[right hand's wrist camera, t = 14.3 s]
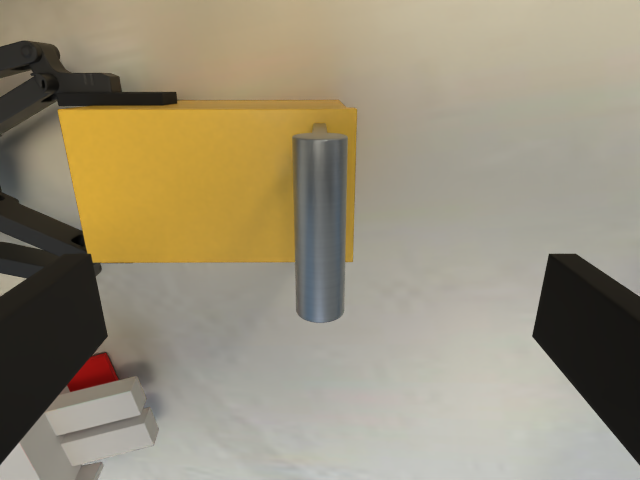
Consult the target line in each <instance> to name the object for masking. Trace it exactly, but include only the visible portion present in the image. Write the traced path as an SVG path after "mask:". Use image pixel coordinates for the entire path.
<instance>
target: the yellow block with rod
mask: <svg viewBox="0 0 640 480" xmlns="http://www.w3.org/2000/svg"><path fill="white" fill-rule="evenodd" d="M58 115H59V120H60V125H61V130H62V135H63V139H64V144H65V149H66V154H67V159H68V163H69V168H70V173H71V178H72V183H73V187H74V192H75V197H76V202H77V207H78V211H79V216H80V221H81V226H82V231H83V235H84V240H85V245H86V250H87V254H91V256H92V261H93V263H170V262H295V278H296V311H297V314H298V315H299V316H300V317H301V318H302V319H304V320H307V321H310V322H316V323H324V322H330V321H334V320H336V319H338V318H340V317H341V316H342V315H343V313H344V295H345V262H353V239H354V202H355V166H356V129H357V109H356V108H66V109H58Z"/></svg>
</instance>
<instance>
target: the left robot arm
mask: <svg viewBox="0 0 640 480" xmlns="http://www.w3.org/2000/svg"><path fill="white" fill-rule="evenodd" d="M29 70H32V71H33V73H31V76H34V77H33V78H31V79H29V80H28V81H26V82H24V83H23V84H21V85H20V86H18V87H16V88H15V89H13V90H11V91H10V92H8V93H7V94H5V95H3V96H2V97H0V137H1V136H2V135H1V134H3V133H4V132H6V131H8V130H9V129H11V128H13V127H14V126H16V125H18V124H19V123H21V122H23V121H24V120H26V119H28V118H29V117H31V116H33V115H34V114H36V113H38V112H39V111H41V110H43V109H44V108H46V107H48V106H49V105H51V104H53V103H54V102H56V101H58V105H59V106H164V105H170V104H177V96H176V92H122V90H121V84H120V77H119V76H116V75H114V74H111V73H71V72H69V71H67V70H66V69H65V68H64V67H63V65H62V64H61V62H60V52H59V50H58V49H57V48H56V47H55V46H54V45H52V44H47V43H39V42H32V41H20V42H16V43H12V44H9V45H5V46H1V47H0V78H3V77H7V76H11V75H14V74H18V73H22V72H26V71H29ZM0 232H2V233H5V234H7V235H9V236H12V237H14V238H16V239H19V240H21V241H24V242H26V243H28V244H31V245H33V246H36V247H38V248H40V249H36V248H31V247H26V246H21V245H16V244H12V243H6V242H0V273H3V274H8V275H13V276H18V277H23V278H29V277H30V276H32V275H33V274H35V273H36V272H38V271H39V270H41V269H42V268H44V267H45V266H47V265H48V264H50V263H51V262H53V261H54V260H56V259H57V258H59V257H60V256H62V255H63V254H87V250H86V245H85V240H84V235H83V231H81V230H78V229H76V228H74V227H72V226H69V225H67V224H65V223H62V222H60V221H58V220H55V219H53V218H51V217H49V216H46V215H44V214H42V213H39V212H37V211H35V210H32V209H30V208H28V207H25V206H23V205H21V204H19V201H18V200H17V199H16V198H13V197H11V196H9V195H6V194H4V193H2V190H1V187H0ZM41 249H43V250H41ZM93 266H94V271H95V276H97V275H98V274H99V273H100V272H101V270H102V268H101V265H100V263H93Z"/></svg>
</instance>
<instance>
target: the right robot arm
mask: <svg viewBox="0 0 640 480" xmlns="http://www.w3.org/2000/svg"><path fill="white" fill-rule="evenodd" d="M107 337H108V335H107V330H106V326H105V321H104V316H103V311H102V306H101V301H100V296H99V291H98V286H97V281H96V276H95V271H94V266H93V261H92V256H91V254H63V255H62V256H60V257H59V258H57V259H56V260H54V261H53V262H51V263H50V264H48V265H47V266H45V267H44V268H42V269H41V270H39V271H38V272H36V273H35V274H33V275H32V276H30V277H29V278H27V279H26V280H24V281H23V282H22V283H20V284H19V285H17V286H16V287H14V288H13V289H11V290H10V291H8V292H7V293H5V294H4V295H2V296H1V297H0V465H1V464H2V462H3V461H4V460H5V459H6V458H7V456H8V455H9V454H10V453H11V452H12V450H13V449H14V448H15V447H16V446H17V444H18V443H19V442H20V441H21V440H22V438H23V437H24V436H25V435H26V434H27V432H28V431H29V430H30V429H31V428H32V427H33V425H34V424H35V423H36V422H37V421H38V419H39V418H40V417H41V416H42V415H43V413H44V412H45V411H46V410H47V409H48V407H49V406H50V405H51V404H52V403H53V401H54V400H55V399H56V398H57V397H58V395H59V394H60V393H61V392H62V391H63V389H64V388H65V387H66V386H67V385H68V383H69V382H70V381H71V380H72V379H73V377H74V376H75V375H76V374H77V373H78V371H79V370H80V369H81V368H82V367H83V365H84V364H85V363H86V362H87V361H88V359H89V358H90V357H91V356H92V355H93V353H94V352H95V351H96V350H97V349H98V347H99V346H100V345H101V344H102V343H103V341H104V340H105V339H106V338H107ZM532 337H533V338H534V339H535V340H536V341H537V343H538V344H539V345H540V346H541V347H542V349H543V350H544V351H545V352H546V353H547V355H548V356H549V357H550V358H551V359H552V361H553V362H554V363H555V364H556V365H557V367H558V368H559V369H560V370H561V371H562V373H563V374H564V375H565V376H566V377H567V379H568V380H569V381H570V382H571V383H572V385H573V386H574V387H575V388H576V389H577V391H578V392H579V393H580V394H581V395H582V397H583V398H584V399H585V400H586V401H587V403H588V404H589V405H590V406H591V407H592V409H593V410H594V411H595V412H596V413H597V415H598V416H599V417H600V418H601V419H602V421H603V422H604V423H605V424H606V425H607V427H608V428H609V429H610V430H611V431H612V432H613V434H614V435H615V436H616V437H617V438H618V440H619V441H620V442H621V443H622V444H623V446H624V447H625V448H626V449H627V450H628V452H629V453H630V454H631V455H632V456H633V458H634V459H635V460H636V461H637V462H638V464H639V465H640V297H639V296H638V295H636V294H635V293H633V292H632V291H630V290H629V289H627V288H626V287H624V286H623V285H621V284H620V283H618V282H617V281H616V280H614V279H613V278H611V277H610V276H608V275H607V274H605V273H604V272H602V271H601V270H599V269H598V268H596V267H595V266H593V265H592V264H590V263H589V262H587V261H586V260H584V259H583V258H581V257H580V256H578V255H577V254H549V256H548V261H547V266H546V271H545V276H544V281H543V286H542V291H541V296H540V301H539V306H538V311H537V316H536V321H535V325H534V330H533V335H532Z"/></svg>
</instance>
